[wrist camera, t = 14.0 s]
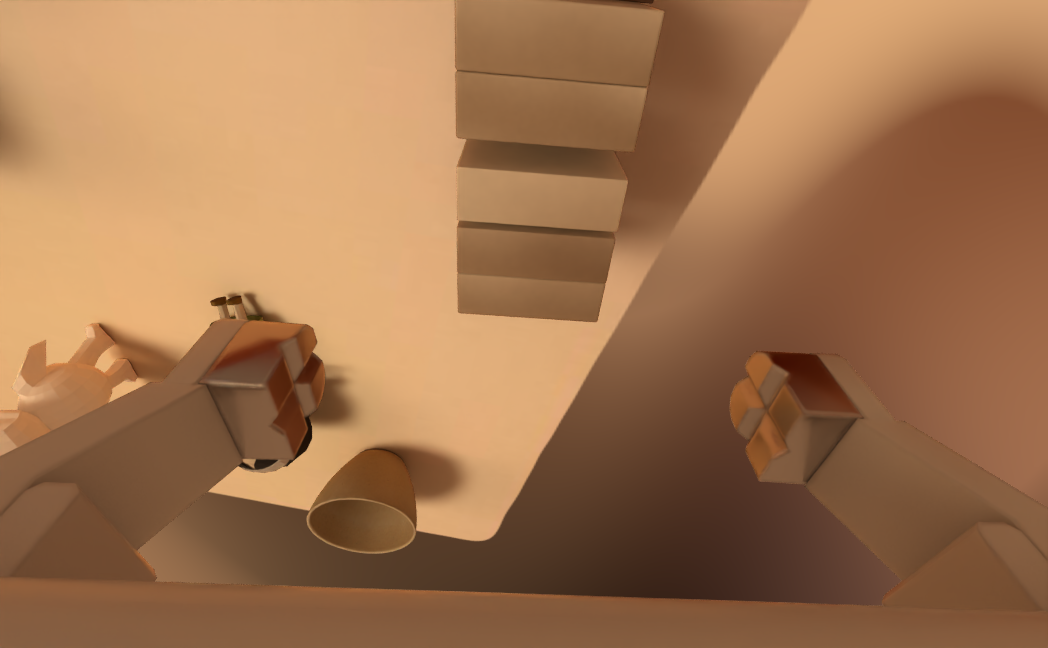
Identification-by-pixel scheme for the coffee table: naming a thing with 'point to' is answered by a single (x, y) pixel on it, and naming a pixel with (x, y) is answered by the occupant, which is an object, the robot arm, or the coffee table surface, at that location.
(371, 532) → the flower pot
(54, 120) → the coffee table surface
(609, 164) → the light brown box
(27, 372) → the figurine
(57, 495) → the robot arm
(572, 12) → the wooden rack
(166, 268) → the coffee table surface
